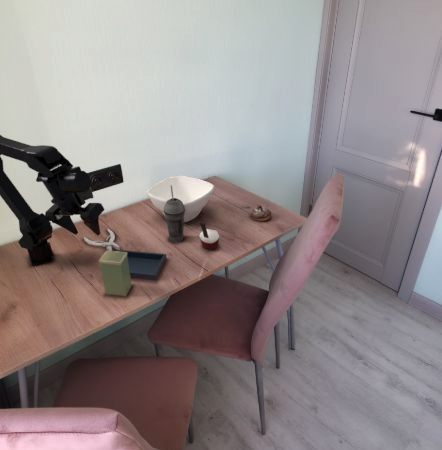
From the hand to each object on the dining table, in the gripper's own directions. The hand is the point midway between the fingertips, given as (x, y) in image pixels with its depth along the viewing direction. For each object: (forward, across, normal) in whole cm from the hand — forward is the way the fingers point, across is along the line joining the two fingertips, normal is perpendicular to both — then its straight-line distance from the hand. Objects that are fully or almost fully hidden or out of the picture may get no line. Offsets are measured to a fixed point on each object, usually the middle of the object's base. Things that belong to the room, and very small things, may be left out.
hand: (87, 234), depth 122 cm
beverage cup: (+20, -13, -21) cm, 32 cm away
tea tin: (+13, -12, +10) cm, 20 cm away
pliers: (+13, +7, -10) cm, 17 cm away
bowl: (+22, -7, -36) cm, 43 cm away
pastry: (+30, -34, -47) cm, 65 cm away
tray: (+15, -11, -1) cm, 18 cm away
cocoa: (+22, -26, -20) cm, 40 cm away
